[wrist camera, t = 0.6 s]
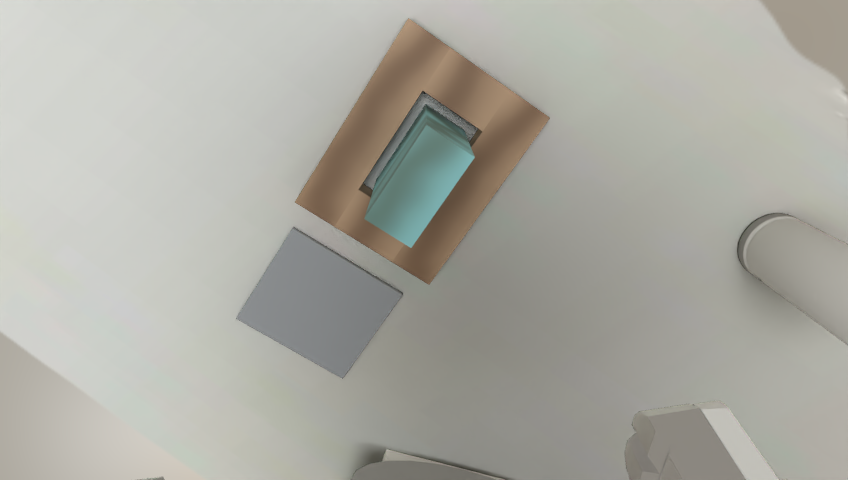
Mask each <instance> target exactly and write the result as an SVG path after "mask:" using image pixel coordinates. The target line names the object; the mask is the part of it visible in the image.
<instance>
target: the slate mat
mask: <svg viewBox="0 0 848 480" xmlns="http://www.w3.org/2000/svg"><path fill="white" fill-rule="evenodd" d="M402 295H403V293H402V292H400V291H398V290H397V289H395V288H393V287H392V286H390V285H389V284H387V283H385V282H384V281H382V280H380V279H379V278H377V277H375V276H374V275H372V274H370V273H369V272H367V271H365V270H364V269H362V268H360V267H359V266H357V265H356V264H354V263H352V262H351V261H349V260H347V259H346V258H344V257H342V256H341V255H339V254H337V253H336V252H334V251H332V250H331V249H329V248H327V247H326V246H324V245H322V244H321V243H319V242H318V241H316V240H314V239H313V238H311V237H309V236H308V235H306V234H304V233H303V232H301V231H299V230H298V229H296V228H294V227H293V228H292V230H291V232H290V233H289V235H288V236H287V238H286V240H285V241H284V243H283V244H282V246H281V248H280V249H279V251H278V252H277V254H276V256H275V257H274V259H273V260H272V262H271V264H270V265H269V267H268V268H267V270H266V272H265V273H264V275H263V276H262V278H261V280H260V281H259V283H258V284H257V286H256V288H255V289H254V291H253V292H252V294H251V296H250V297H249V299H248V300H247V302H246V304H245V305H244V307H243V308H242V310H241V311H240V313H239V315H238V316H237V318H236V319H238V320H239V321H241V322H243V323H245V324H247V325H248V326H250V327H252V328H254V329H255V330H257V331H259V332H261V333H262V334H264V335H266V336H268V337H270V338H271V339H273V340H275V341H277V342H278V343H280V344H282V345H284V346H286V347H287V348H289V349H291V350H293V351H294V352H296V353H298V354H300V355H302V356H303V357H305V358H307V359H309V360H310V361H312V362H314V363H316V364H318V365H319V366H321V367H323V368H325V369H326V370H328V371H330V372H332V373H333V374H335V375H337V376H339V377H341V378H342V379H343V377H344V376H345V375H346V373H347V372H348V370H349V369H350V368H351V366H352V365H353V363H354V362H355V361H356V359H357V358H358V356H359V355H360V354H361V352H362V351H363V349H364V348H365V347H366V345H367V344H368V342H369V341H370V340H371V338H372V337H373V335H374V334H375V333H376V331H377V330H378V328H379V327H380V326H381V324H382V323H383V321H384V320H385V319H386V317H387V316H388V314H389V313H390V312H391V310H392V309H393V307H394V306H395V305H396V303H397V302H398V300H399V299H400V298H401V296H402Z"/></svg>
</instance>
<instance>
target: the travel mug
mask: <svg viewBox="0 0 848 480" xmlns="http://www.w3.org/2000/svg"><path fill="white" fill-rule="evenodd" d="M738 256H739V259H740V262H741V264H742V265H743V267H744V268H745V269H746V270H747V271H748V272H750V273H751V274H752V275H754V276H755V277H757V278H758V279H759V280H761V281H762V282H763V283H765V284H766V285H767V286H769V287H770V288H771V289H773V290H774V291H775V292H777V293H778V294H779V295H781V296H782V297H783V298H785V299H786V300H787V301H789V302H790V303H791V304H793V305H794V306H795V307H797V308H798V309H799V310H801V311H802V312H804V313H805V314H806V315H808V316H809V317H810V318H812V319H813V320H814V321H816V322H817V323H818V324H820V325H821V326H822V327H824V328H825V329H826V330H828V331H829V332H830V333H832V334H833V335H834V336H836V337H837V338H838V339H840V340H841V341H842V342H844V343H845V344H847V345H848V244H846V243H844V242H842V241H840V240H838V239H836V238H834V237H832V236H830V235H828V234H826V233H824V232H822V231H821V230H819V229H817V228H815V227H813V226H811V225H809V224H807V223H805V222H802V221H801V220H799V219H797V218H795V217H793V216H790V215H788V214H782V213H776V214H770V215H766V216H764V217H761V218H759V219H758V220H756V221H754V222H753V223H752V224H751V225H750V226H749V227H748V228H747V229H746V230H745V232H744V233H743V235H742V237H741V239H740V242H739V247H738Z"/></svg>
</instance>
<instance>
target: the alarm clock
mask: <svg viewBox="0 0 848 480" xmlns="http://www.w3.org/2000/svg"><path fill="white" fill-rule="evenodd" d="M351 480H505V479H501V478H497V477H493V476H489V475H485V474H482V473H478V472H474V471H470V470H466V469H462V468H458V467H454V466H450V465H446V464H442V463H439V462H435V461H431V460H427V459H423V458H419V457H415V456H411V455H407V454H403V453H399V452H396V451H392V450H388V449H386V451H385V454H384V457H383V460H382V462H377V463H371V464H368V465H366V466H364V467H362V468H360V469H358V470H356V472H355V473H354V475H353V477H352V478H351Z"/></svg>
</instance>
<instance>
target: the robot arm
mask: <svg viewBox="0 0 848 480" xmlns="http://www.w3.org/2000/svg"><path fill="white" fill-rule="evenodd" d="M632 426H633V428H634V430H635V432H636V433H635V434H634V435H633V436H632V437H631V438H629V439H628V440H627V444H626V448H625V462H626V469H627V472H628V475H629V479H630V480H779V478H778V477H777V476H776V474H775V473H774V471H773V470H772V469H771V467H770V466H769V464H768V463H767V462H766V460H765V459H764V457H763V456H762V454H761V453H760V452H759V450H758V449H757V447H756V446H755V445H754V443H753V442H752V440H751V439H750V438H749V436H748V435H747V433H746V432H745V431H744V429H743V428H742V426H741V425H740V424H739V422H738V421H737V419H736V418H735V416H734V415H733V414H732V412H731V411H730V409H729V408H728V407H727V405H725V404H724V403H723V402H721V401H710V402H703V403H697V404H684V405H677V406H671V407H664V408H658V409H651V410H645V411H639V412H638V413H637V414H636V415H635V416H634V419H633V422H632ZM139 480H164V478H163V477H155V478H147V479H139ZM782 480H788V479H782Z"/></svg>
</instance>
